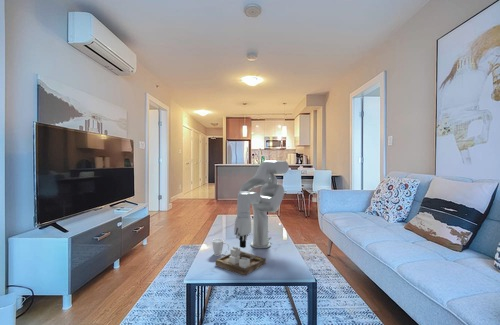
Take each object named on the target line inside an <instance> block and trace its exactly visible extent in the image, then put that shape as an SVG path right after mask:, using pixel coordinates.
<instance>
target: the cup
mask: <svg viewBox="0 0 500 325" xmlns="http://www.w3.org/2000/svg"><path fill="white" fill-rule="evenodd" d="M211 243H212V249H213V250H212V251H213V255H214V256H216V257H217V256H222V255H225V254H226V253H228V251H229V250H230V246H229V243H227V242H225V240H224V239H223V238H213V239H212V240H211ZM224 244H226V245H227V251H225V252H223V249H224ZM222 252H223V253H222Z"/></svg>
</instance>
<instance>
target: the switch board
mask: <svg viewBox="0 0 500 325" xmlns="http://www.w3.org/2000/svg"><path fill="white" fill-rule="evenodd" d="M230 254H231V253H229V254H226V255H224V256H222V257H220V258H217V259H215V266H216V267H220V268H222V269H225V270H228V272H229V271H230V272H232V273H235V274H237V275H240V276H243V277H245V276H247V275H248V274H250V273H252V272H253V271H256V270H257V269H260V268H261V267H262V266H264V265H266V264H267V258H266V257H261V256H258V255H255V254H252V253H249V252H246V251H242V250H240V255H239V256H240V259H242V257H245V258H248V259H250V266H249V267H247V268H245V269H244V268H241V267H239V263H238V264H236V265H233V264H231V263H229V256H230Z"/></svg>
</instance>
